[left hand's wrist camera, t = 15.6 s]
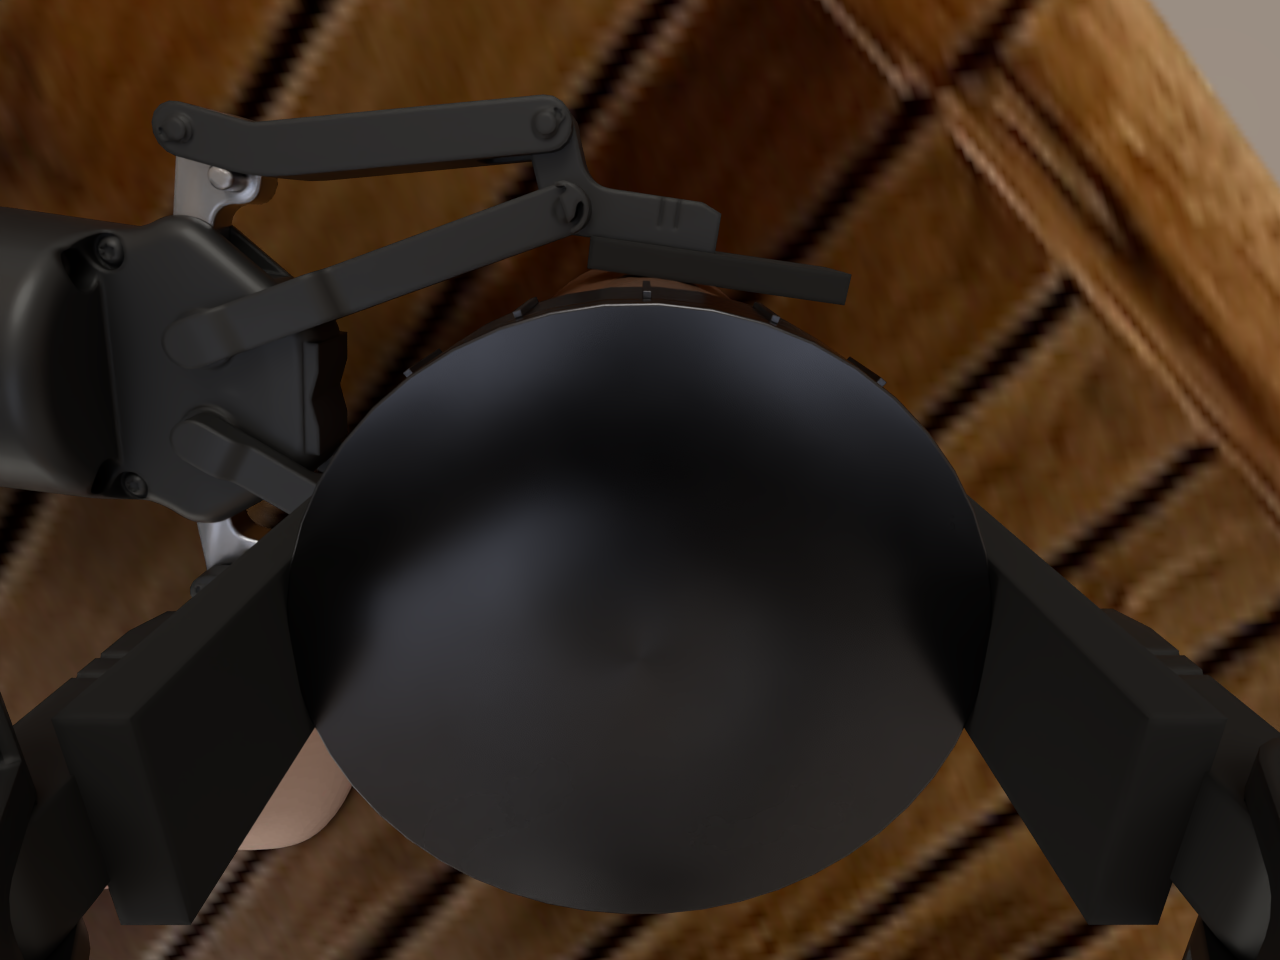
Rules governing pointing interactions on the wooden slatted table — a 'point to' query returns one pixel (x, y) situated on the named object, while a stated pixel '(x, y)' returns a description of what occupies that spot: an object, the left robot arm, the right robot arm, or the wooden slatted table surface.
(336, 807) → the anatomical model
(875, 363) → the wooden slatted table surface
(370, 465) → the lid
